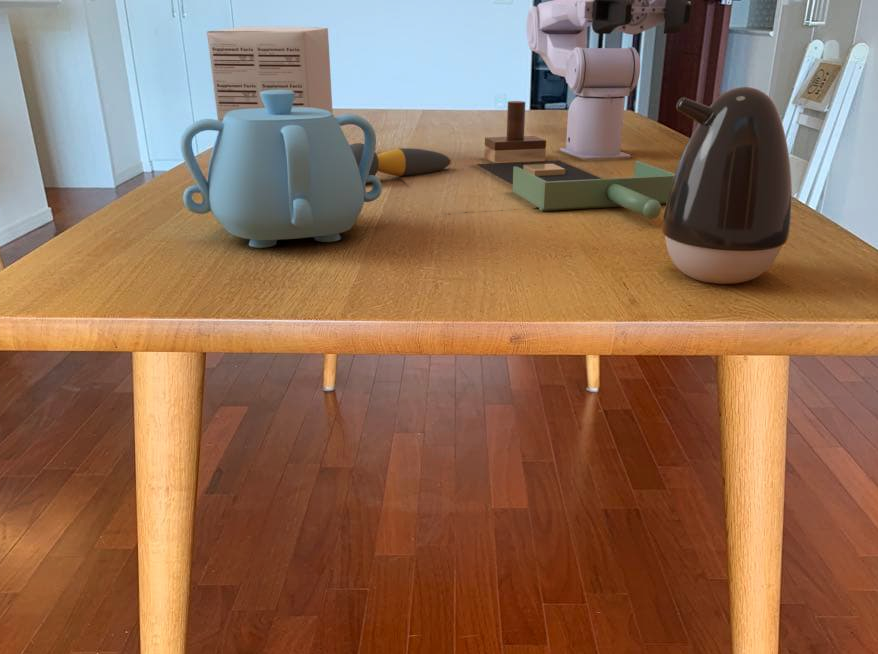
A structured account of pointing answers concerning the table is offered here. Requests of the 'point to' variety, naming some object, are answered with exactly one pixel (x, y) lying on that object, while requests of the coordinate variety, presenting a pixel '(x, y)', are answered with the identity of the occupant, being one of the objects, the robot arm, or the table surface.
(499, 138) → the brush
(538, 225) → the table surface
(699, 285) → the table surface
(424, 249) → the table surface
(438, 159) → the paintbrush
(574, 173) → the mat
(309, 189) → the decorative pot
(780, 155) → the pump dispenser
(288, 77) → the supplement box
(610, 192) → the dustpan
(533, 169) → the flat wooden square tile
